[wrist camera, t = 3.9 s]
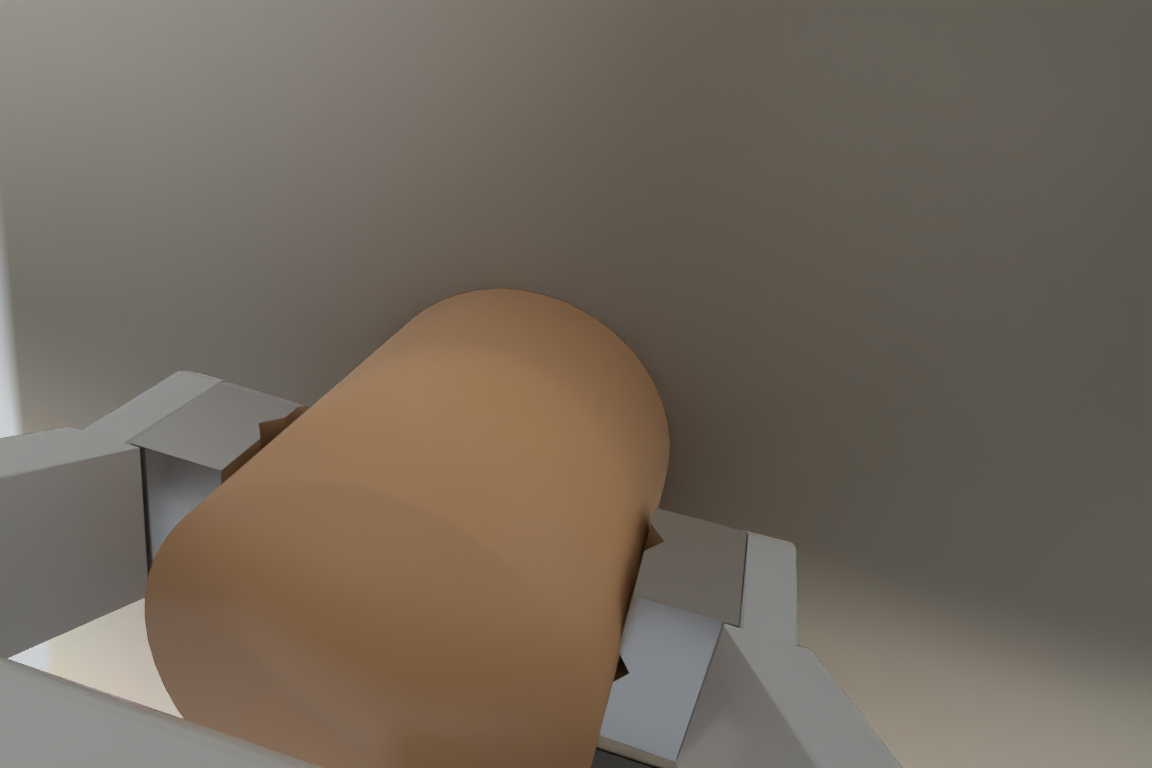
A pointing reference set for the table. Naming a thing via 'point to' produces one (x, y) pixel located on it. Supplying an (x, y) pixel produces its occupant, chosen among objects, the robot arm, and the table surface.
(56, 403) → the table surface
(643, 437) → the brown egg
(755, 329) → the table surface
